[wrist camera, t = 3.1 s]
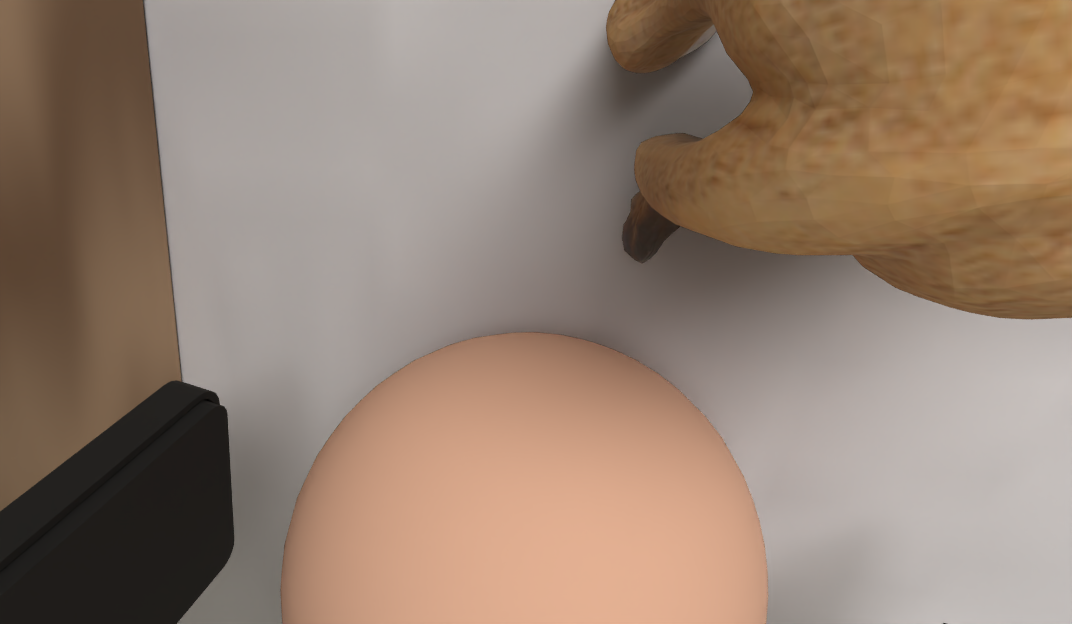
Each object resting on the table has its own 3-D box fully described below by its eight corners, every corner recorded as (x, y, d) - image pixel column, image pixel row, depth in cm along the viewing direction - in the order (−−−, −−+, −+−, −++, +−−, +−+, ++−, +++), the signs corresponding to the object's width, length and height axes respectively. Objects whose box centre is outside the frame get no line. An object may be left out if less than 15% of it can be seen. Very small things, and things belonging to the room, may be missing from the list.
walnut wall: (12, -416, 9) (-482, -638, 5) (101, -404, 8) (-347, -623, 5) (137, 439, 15) (-44, 592, 12) (189, 457, 15) (21, 616, 12)
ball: (417, 215, 11) (126, 474, 6) (822, 320, 10) (892, 729, 5) (393, 503, 14) (185, 841, 9) (704, 604, 13) (672, 1038, 8)
